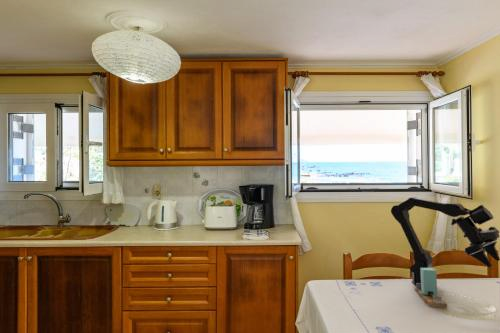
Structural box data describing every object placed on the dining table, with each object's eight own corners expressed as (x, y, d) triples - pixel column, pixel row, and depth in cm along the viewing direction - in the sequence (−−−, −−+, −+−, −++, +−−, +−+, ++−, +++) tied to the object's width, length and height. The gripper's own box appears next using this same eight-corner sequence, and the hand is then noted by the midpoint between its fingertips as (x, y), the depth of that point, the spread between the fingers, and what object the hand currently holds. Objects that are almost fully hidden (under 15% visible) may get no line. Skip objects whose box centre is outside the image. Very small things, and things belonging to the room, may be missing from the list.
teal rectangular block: (421, 291, 142) (420, 267, 142) (434, 292, 141) (433, 268, 141) (424, 294, 138) (423, 270, 138) (437, 295, 137) (436, 270, 137)
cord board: (415, 290, 148) (414, 281, 149) (430, 291, 147) (430, 282, 147) (429, 306, 129) (428, 296, 130) (447, 307, 128) (446, 296, 128)
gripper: (478, 226, 132) (506, 262, 126) (495, 217, 143) (521, 250, 137) (454, 237, 140) (478, 272, 134) (472, 228, 151) (495, 260, 145)
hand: (494, 263), depth 137 cm, fingers open, 9 cm apart
